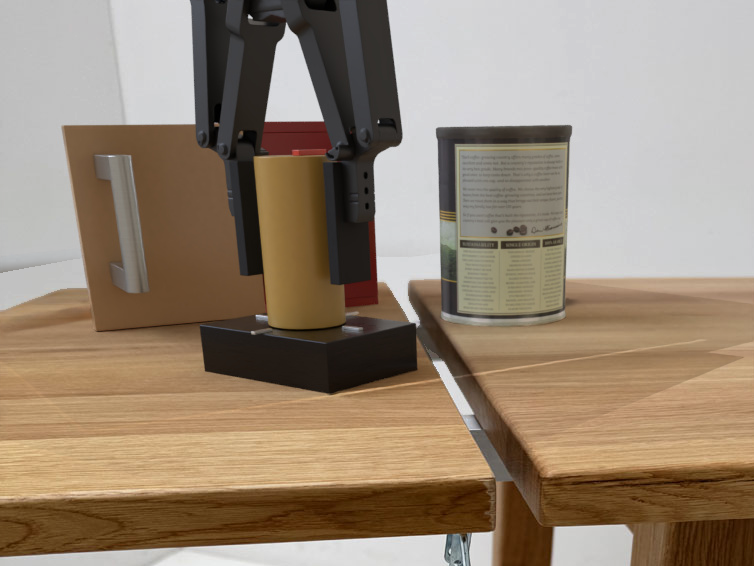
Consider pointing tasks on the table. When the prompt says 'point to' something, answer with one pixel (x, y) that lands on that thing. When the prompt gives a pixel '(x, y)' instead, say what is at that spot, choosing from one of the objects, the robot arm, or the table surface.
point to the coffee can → (503, 223)
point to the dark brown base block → (310, 352)
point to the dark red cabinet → (315, 136)
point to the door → (155, 227)
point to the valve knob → (296, 242)
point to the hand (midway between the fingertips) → (304, 277)
